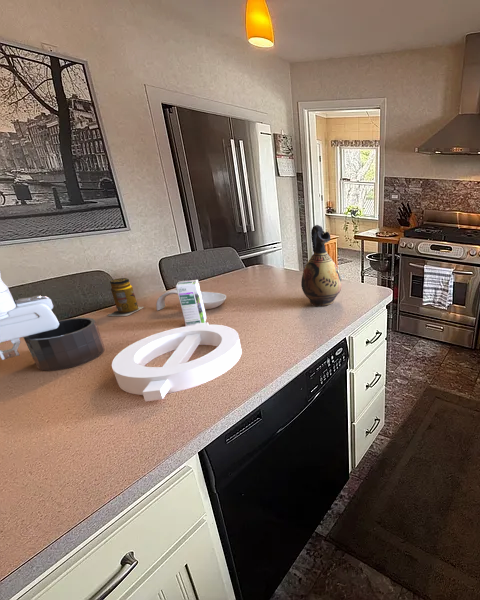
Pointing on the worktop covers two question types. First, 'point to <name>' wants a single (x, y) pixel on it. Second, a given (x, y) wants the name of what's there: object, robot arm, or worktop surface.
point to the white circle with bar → (176, 360)
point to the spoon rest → (208, 298)
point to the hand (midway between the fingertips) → (10, 356)
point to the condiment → (123, 297)
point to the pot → (66, 344)
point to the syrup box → (191, 302)
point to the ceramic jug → (320, 272)
